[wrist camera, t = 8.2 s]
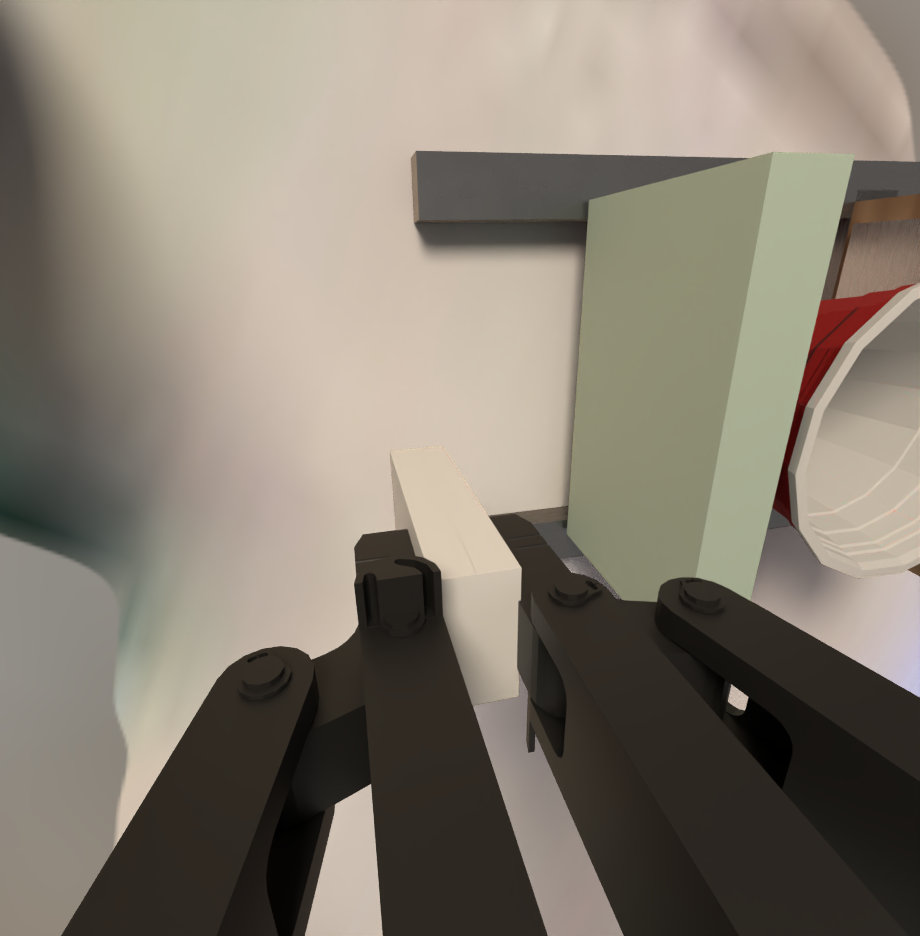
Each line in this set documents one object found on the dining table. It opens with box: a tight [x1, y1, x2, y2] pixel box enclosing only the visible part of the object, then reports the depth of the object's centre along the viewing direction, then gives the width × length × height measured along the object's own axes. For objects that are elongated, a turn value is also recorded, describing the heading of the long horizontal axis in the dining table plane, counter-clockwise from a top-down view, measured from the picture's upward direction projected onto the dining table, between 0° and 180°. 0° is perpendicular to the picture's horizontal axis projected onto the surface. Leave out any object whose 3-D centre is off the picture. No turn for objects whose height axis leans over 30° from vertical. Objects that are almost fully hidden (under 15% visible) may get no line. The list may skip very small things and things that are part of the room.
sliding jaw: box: [567, 152, 855, 602], centre depth 20 cm, size 3×16×10 cm, turn 1°
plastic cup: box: [772, 283, 920, 579], centre depth 22 cm, size 11×11×12 cm
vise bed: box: [411, 151, 920, 576], centre depth 22 cm, size 25×19×12 cm
